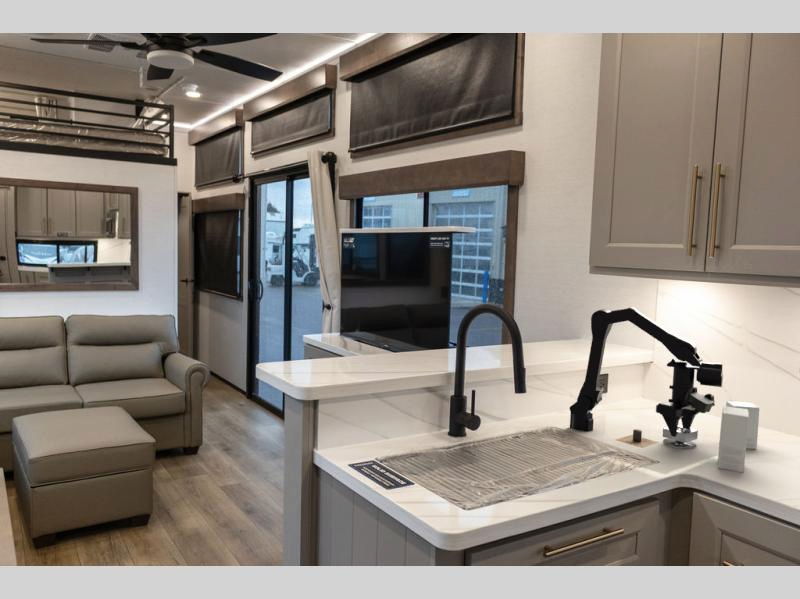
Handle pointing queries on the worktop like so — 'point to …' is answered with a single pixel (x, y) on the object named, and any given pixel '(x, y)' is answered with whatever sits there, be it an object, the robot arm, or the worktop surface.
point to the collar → (681, 434)
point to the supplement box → (753, 421)
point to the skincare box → (733, 438)
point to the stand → (637, 439)
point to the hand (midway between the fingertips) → (679, 434)
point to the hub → (679, 443)
